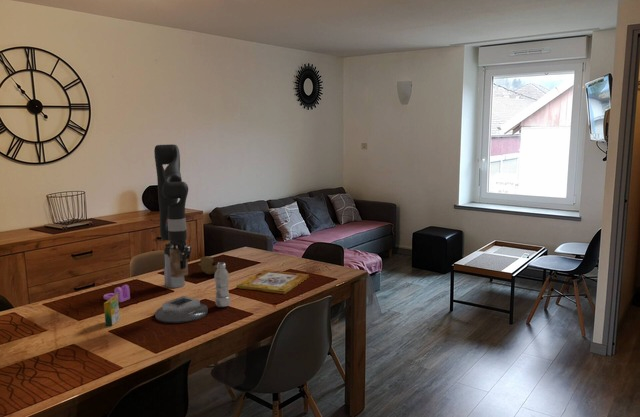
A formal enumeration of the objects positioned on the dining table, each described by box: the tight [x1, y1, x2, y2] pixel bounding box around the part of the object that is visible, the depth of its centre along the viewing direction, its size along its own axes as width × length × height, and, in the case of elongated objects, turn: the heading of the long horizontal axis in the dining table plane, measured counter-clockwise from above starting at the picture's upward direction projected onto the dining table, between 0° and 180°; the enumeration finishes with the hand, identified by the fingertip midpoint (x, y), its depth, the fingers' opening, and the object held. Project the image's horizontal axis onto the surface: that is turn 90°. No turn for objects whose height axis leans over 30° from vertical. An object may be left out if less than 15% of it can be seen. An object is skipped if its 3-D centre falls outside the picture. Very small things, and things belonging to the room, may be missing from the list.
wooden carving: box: [198, 255, 218, 275], centre depth 275 cm, size 16×5×10 cm, turn 58°
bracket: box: [103, 284, 131, 303], centre depth 234 cm, size 13×6×7 cm, turn 64°
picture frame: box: [236, 269, 310, 295], centre depth 258 cm, size 27×2×30 cm
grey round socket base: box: [154, 295, 209, 324], centre depth 214 cm, size 22×22×6 cm
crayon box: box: [103, 293, 121, 327], centre depth 204 cm, size 7×3×12 cm, turn 178°
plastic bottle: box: [213, 261, 231, 308], centre depth 221 cm, size 6×7×20 cm
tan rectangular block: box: [170, 248, 189, 278], centre depth 211 cm, size 4×6×12 cm, turn 148°
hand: (179, 267), depth 211 cm, fingers closed on tan rectangular block, 4 cm apart
